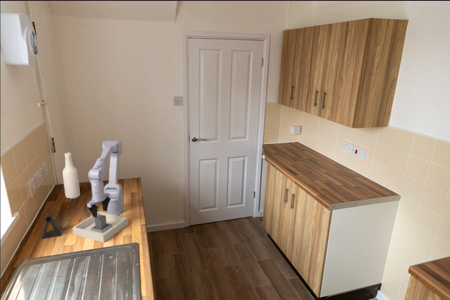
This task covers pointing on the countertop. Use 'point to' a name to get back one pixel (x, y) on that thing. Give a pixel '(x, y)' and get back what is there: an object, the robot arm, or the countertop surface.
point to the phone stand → (55, 225)
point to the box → (90, 231)
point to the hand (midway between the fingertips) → (100, 213)
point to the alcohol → (70, 178)
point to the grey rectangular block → (100, 222)
